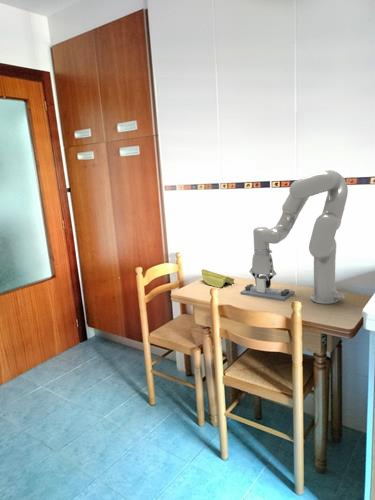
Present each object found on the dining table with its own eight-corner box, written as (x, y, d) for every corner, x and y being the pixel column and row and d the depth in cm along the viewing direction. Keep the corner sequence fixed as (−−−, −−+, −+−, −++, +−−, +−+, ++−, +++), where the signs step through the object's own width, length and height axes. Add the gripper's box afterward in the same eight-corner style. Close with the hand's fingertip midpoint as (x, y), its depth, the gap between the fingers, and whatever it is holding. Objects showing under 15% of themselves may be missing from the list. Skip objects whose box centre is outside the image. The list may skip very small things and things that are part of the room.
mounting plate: (294, 293, 195) (294, 291, 195) (283, 301, 186) (283, 298, 186) (251, 287, 210) (251, 285, 210) (240, 294, 201) (240, 292, 201)
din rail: (289, 293, 193) (289, 289, 193) (284, 296, 189) (284, 292, 189) (250, 287, 207) (250, 284, 206) (245, 290, 203) (245, 286, 202)
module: (270, 289, 200) (270, 275, 199) (264, 293, 196) (264, 278, 194) (262, 288, 203) (262, 274, 202) (256, 291, 198) (256, 277, 197)
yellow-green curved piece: (236, 279, 220) (225, 275, 213) (232, 292, 220) (221, 288, 213) (211, 271, 235) (200, 268, 228) (207, 283, 234) (196, 280, 228)
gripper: (280, 251, 193) (281, 286, 196) (250, 249, 203) (252, 282, 207) (274, 254, 187) (275, 290, 191) (243, 252, 198) (244, 286, 201)
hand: (263, 286), depth 199 cm, fingers open, 5 cm apart
